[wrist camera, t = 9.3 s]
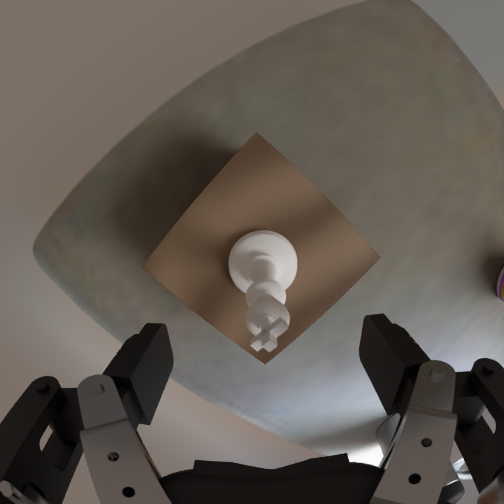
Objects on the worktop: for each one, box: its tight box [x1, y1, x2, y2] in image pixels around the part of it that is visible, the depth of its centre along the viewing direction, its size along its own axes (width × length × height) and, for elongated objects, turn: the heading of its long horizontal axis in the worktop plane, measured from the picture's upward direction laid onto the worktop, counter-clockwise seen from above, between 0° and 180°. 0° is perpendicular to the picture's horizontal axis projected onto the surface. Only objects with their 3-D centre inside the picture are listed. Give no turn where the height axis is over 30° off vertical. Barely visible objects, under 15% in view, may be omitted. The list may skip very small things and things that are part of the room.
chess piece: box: [228, 230, 297, 352], centre depth 15 cm, size 5×5×10 cm
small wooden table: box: [142, 132, 380, 364], centre depth 23 cm, size 13×13×7 cm
